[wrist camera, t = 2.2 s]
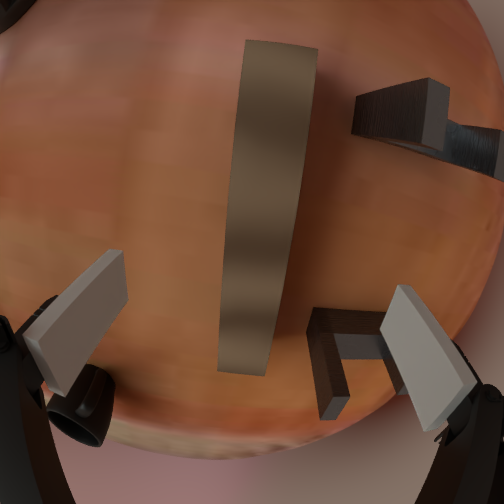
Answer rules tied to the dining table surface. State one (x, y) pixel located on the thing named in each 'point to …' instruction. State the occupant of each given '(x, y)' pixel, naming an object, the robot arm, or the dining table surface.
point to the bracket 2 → (428, 126)
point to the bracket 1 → (345, 353)
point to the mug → (85, 407)
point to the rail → (263, 198)
